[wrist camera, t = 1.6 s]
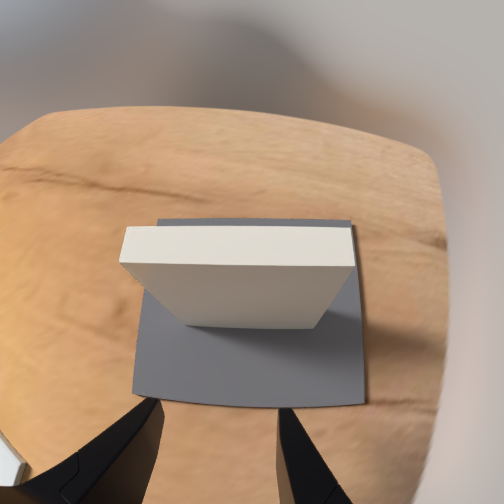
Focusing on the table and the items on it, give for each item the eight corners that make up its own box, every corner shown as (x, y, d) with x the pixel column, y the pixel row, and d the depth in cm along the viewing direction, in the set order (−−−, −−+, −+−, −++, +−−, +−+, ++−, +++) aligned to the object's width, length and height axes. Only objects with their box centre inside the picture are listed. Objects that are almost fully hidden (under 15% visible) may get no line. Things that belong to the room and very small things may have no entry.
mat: (361, 402, 20) (364, 403, 20) (135, 393, 21) (132, 393, 21) (349, 223, 27) (350, 220, 27) (159, 222, 28) (158, 219, 28)
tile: (313, 328, 22) (355, 266, 12) (185, 325, 23) (118, 262, 12) (312, 304, 23) (350, 224, 13) (187, 302, 24) (128, 223, 13)
